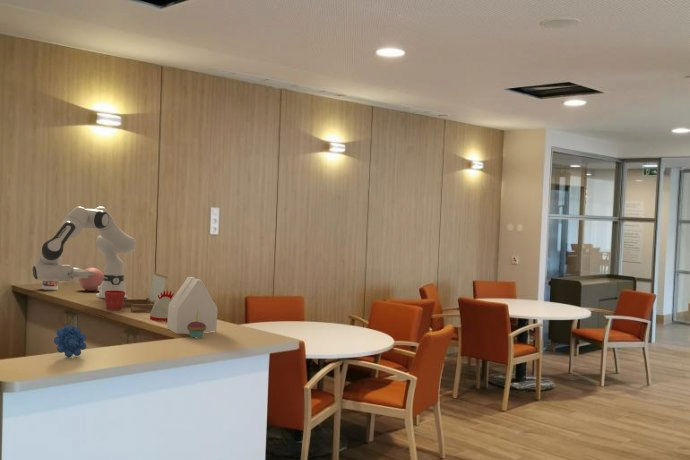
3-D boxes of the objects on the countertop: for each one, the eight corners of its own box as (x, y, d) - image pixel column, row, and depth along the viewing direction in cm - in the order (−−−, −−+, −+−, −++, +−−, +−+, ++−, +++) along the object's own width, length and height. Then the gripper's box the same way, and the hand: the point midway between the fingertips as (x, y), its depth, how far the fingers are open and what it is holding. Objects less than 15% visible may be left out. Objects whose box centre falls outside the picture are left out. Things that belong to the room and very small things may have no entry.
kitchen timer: (180, 321, 350) (182, 292, 350) (154, 321, 343) (156, 292, 343) (173, 316, 362) (174, 288, 362) (147, 317, 355) (148, 288, 355)
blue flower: (55, 360, 244) (57, 327, 244) (51, 356, 250) (53, 324, 249) (88, 358, 251) (90, 326, 251) (83, 354, 256) (85, 323, 256)
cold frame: (120, 306, 387) (120, 298, 387) (148, 305, 396) (149, 298, 396) (131, 312, 368) (131, 303, 368) (160, 311, 377) (161, 303, 377)
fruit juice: (60, 289, 440) (63, 246, 440) (46, 290, 433) (49, 246, 433) (53, 288, 446) (56, 245, 446) (39, 288, 439) (42, 245, 439)
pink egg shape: (113, 292, 446) (114, 269, 446) (81, 292, 435) (82, 268, 435) (106, 289, 459) (108, 266, 459) (75, 289, 448) (77, 266, 448)
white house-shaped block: (176, 333, 314) (179, 279, 314) (167, 328, 327) (170, 276, 327) (216, 332, 324) (219, 280, 323) (205, 327, 337) (208, 277, 337)
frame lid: (154, 272, 396) (155, 272, 396) (148, 297, 395) (149, 298, 395) (165, 276, 378) (167, 276, 379) (159, 302, 377) (161, 303, 378)
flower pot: (111, 310, 367) (112, 293, 367) (99, 308, 374) (100, 290, 374) (128, 309, 376) (129, 292, 376) (116, 307, 383) (117, 290, 382)
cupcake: (185, 335, 310) (186, 309, 310) (203, 335, 314) (205, 309, 314) (188, 339, 302) (190, 312, 302) (207, 338, 306) (209, 312, 306)
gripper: (70, 268, 352) (98, 269, 359) (63, 265, 369) (89, 266, 376) (69, 281, 352) (97, 281, 359) (62, 277, 369) (88, 277, 376)
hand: (93, 273), depth 368 cm, fingers closed
